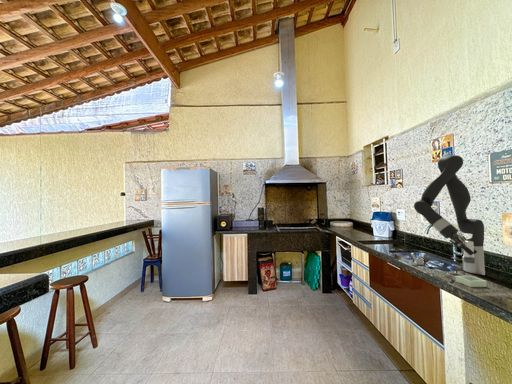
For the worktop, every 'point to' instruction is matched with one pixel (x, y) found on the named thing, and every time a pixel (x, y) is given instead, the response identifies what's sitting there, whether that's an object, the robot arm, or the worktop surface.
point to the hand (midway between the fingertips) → (473, 253)
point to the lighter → (417, 259)
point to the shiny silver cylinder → (468, 257)
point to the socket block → (452, 275)
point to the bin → (471, 281)
